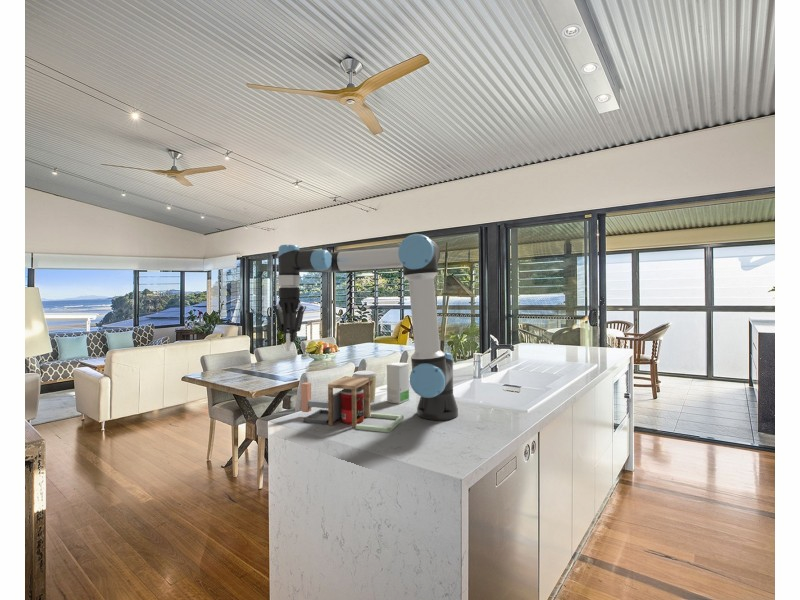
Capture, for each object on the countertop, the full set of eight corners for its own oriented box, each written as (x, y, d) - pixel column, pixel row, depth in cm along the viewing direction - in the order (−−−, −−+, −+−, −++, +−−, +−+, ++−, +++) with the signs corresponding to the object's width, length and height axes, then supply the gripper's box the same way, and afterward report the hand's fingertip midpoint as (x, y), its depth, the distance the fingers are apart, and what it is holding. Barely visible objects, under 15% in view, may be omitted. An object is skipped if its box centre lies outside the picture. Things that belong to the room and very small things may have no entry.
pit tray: (341, 414, 156) (341, 411, 156) (326, 424, 144) (326, 420, 144) (320, 412, 158) (320, 409, 158) (303, 422, 147) (303, 418, 147)
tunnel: (370, 416, 153) (369, 377, 153) (355, 428, 140) (354, 385, 140) (345, 414, 156) (345, 376, 156) (328, 425, 143) (328, 384, 143)
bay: (403, 418, 150) (403, 415, 150) (389, 432, 136) (389, 428, 136) (372, 415, 154) (372, 412, 153) (355, 428, 139) (355, 425, 139)
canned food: (360, 425, 143) (360, 393, 143) (338, 423, 145) (337, 392, 145) (366, 418, 151) (366, 388, 150) (345, 417, 152) (345, 387, 152)
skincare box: (399, 404, 169) (399, 365, 168) (385, 402, 172) (385, 364, 172) (410, 399, 176) (409, 362, 176) (396, 397, 179) (396, 361, 179)
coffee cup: (351, 403, 171) (350, 374, 171) (358, 397, 180) (358, 369, 180) (373, 404, 169) (372, 375, 168) (379, 398, 178) (378, 370, 178)
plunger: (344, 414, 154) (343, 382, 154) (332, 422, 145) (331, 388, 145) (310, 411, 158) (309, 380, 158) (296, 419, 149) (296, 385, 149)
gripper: (310, 286, 156) (310, 349, 156) (279, 287, 160) (280, 348, 161) (299, 286, 149) (300, 352, 149) (268, 287, 153) (268, 351, 153)
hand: (290, 350), depth 155 cm, fingers closed
